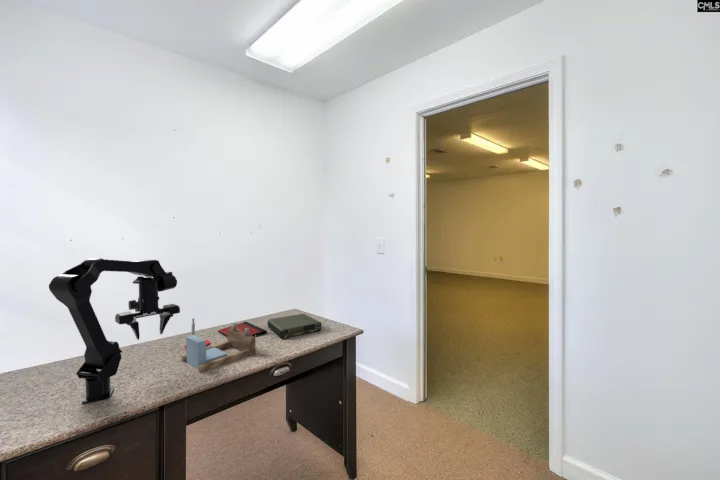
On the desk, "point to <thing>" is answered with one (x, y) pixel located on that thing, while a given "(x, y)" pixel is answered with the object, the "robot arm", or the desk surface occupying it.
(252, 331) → the binder
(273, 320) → the dark green electronics case
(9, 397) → the desk surface
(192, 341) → the block
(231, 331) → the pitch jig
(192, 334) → the tow hook
